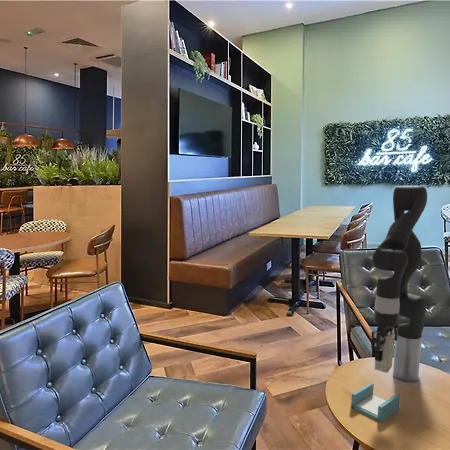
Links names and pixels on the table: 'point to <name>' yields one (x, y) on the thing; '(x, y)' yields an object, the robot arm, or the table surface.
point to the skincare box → (386, 355)
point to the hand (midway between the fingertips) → (383, 357)
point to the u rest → (374, 403)
